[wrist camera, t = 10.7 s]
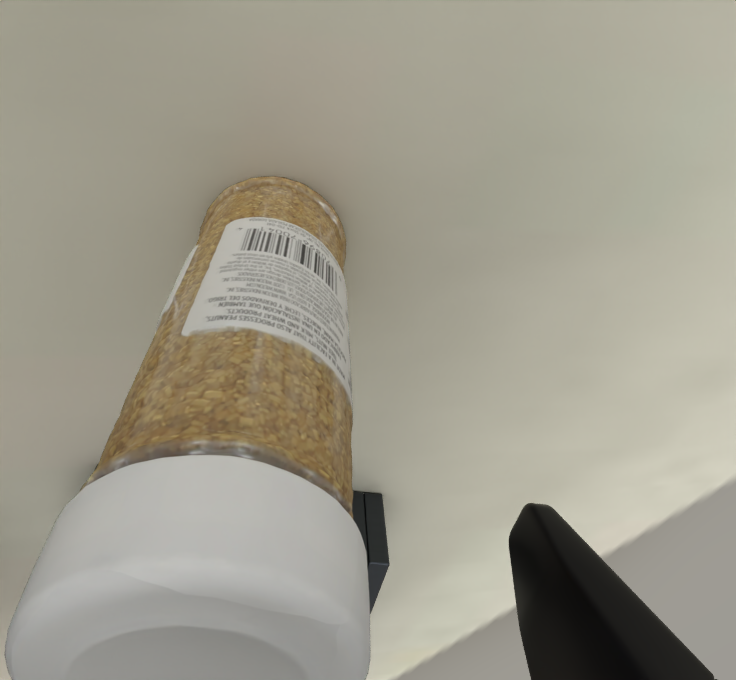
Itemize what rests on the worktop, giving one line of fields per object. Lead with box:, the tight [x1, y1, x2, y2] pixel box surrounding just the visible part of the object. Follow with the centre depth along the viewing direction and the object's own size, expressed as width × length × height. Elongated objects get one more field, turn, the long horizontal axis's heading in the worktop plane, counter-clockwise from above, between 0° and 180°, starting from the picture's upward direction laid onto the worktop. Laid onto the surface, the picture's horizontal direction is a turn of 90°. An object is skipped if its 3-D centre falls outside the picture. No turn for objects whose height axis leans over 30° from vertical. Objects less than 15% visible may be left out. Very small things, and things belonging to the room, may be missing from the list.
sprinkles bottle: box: [5, 176, 370, 680], centre depth 13 cm, size 5×5×14 cm
